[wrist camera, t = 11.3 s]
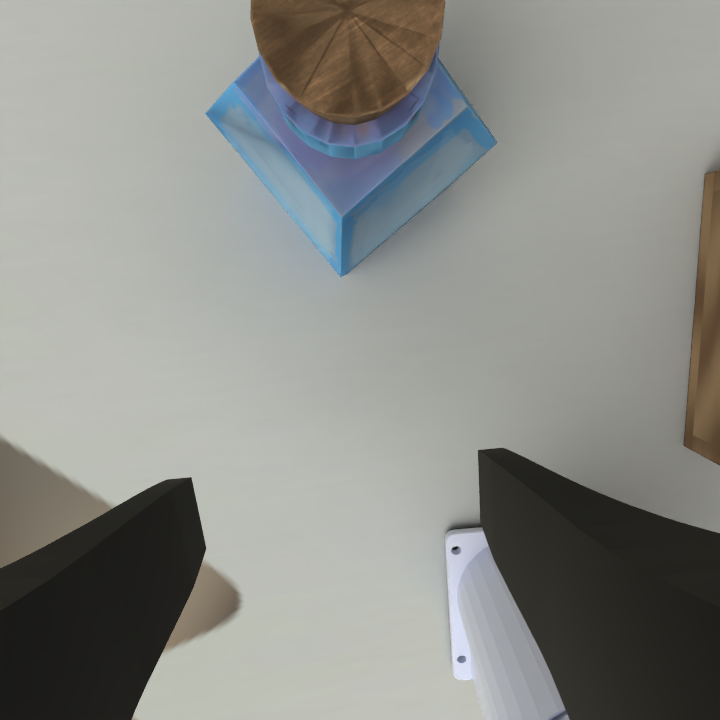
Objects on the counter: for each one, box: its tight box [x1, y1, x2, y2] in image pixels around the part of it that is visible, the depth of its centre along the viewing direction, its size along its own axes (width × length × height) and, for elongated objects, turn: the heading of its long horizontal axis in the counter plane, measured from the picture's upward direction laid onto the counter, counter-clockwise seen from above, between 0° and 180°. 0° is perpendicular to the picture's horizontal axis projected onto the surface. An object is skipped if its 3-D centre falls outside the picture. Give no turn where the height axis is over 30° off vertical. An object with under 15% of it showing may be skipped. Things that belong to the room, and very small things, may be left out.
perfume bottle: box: [205, 0, 497, 277], centre depth 13 cm, size 6×6×12 cm
